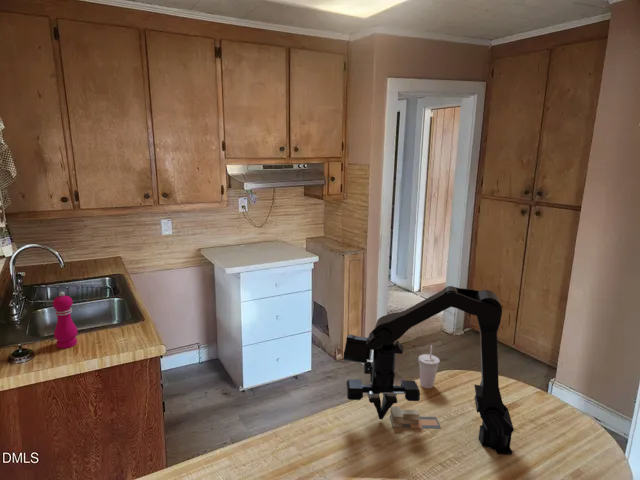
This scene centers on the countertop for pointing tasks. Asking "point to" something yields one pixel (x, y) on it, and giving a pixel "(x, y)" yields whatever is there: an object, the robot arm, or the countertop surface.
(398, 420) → the t block
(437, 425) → the mat
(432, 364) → the smoothie
